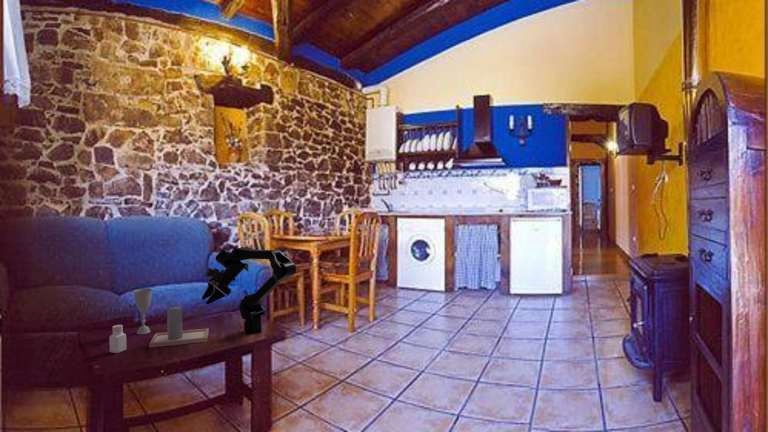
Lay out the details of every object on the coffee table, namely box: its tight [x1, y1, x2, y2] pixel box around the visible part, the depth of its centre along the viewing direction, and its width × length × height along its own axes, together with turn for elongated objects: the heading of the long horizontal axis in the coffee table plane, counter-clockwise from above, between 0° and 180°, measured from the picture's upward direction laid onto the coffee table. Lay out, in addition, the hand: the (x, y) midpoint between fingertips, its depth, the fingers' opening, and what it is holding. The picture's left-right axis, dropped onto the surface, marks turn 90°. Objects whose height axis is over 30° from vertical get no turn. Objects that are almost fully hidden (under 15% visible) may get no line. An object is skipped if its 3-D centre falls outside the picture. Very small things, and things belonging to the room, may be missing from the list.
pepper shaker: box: [108, 324, 127, 354], centre depth 151 cm, size 4×4×10 cm
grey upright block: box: [166, 305, 183, 340], centre depth 163 cm, size 5×5×12 cm
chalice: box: [132, 287, 153, 335], centre depth 172 cm, size 7×7×18 cm
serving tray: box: [148, 327, 210, 348], centre depth 164 cm, size 20×13×2 cm, turn 110°
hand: (204, 301), depth 171 cm, fingers open, 9 cm apart
